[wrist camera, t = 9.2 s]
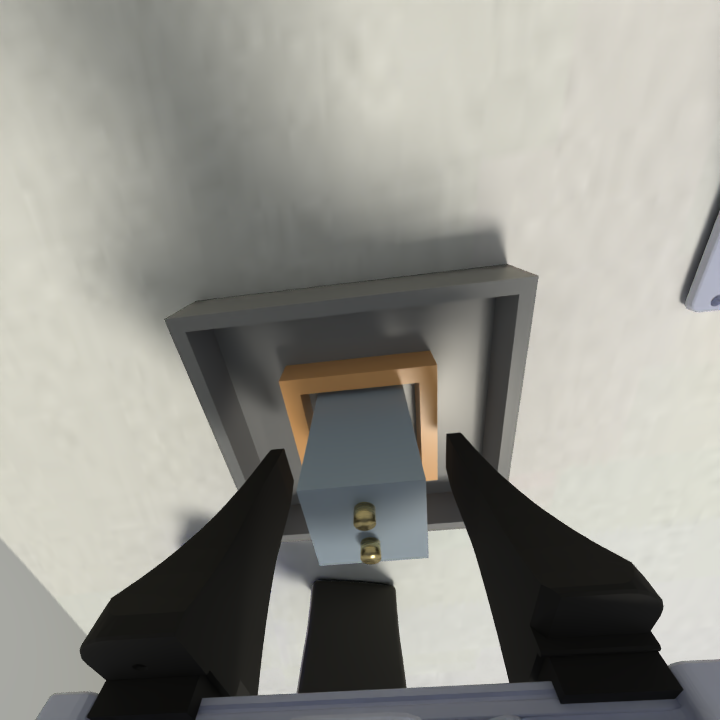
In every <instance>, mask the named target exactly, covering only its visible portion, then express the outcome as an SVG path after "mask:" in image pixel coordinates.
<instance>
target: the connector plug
mask: <svg viewBox="0 0 720 720" xmlns="http://www.w3.org/2000/svg"><path fill="white" fill-rule="evenodd" d="M296 492H297V495H298V498H299V501H300V504H301V508H302V511H303V514H304V517H305V520H306V524H307V527H308V530H309V533H310V536H311V540H312V543H313V546H314V549H315V552H316V556H317V559H318V562H319V565H320V566H325V565H338V564H352V563H365V564H376V563H378V562H380V561H392V560H405V559H419V558H428V528H427V498H426V478H425V474H424V470H423V466H422V462H421V458H420V454H419V449H418V445H417V441H416V437H415V433H414V429H413V425H412V421H411V417H410V413H409V409H408V405H407V401H406V396H405V392H404V388H403V384H402V385H392V386H383V387H373V388H363V389H353V390H343V391H333V392H323V393H318V396H317V400H316V405H315V409H314V414H313V418H312V423H311V427H310V432H309V436H308V441H307V445H306V450H305V454H304V459H303V463H302V468H301V472H300V477H299V481H298V486H297V490H296Z"/></svg>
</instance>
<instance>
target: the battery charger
mask: <svg viewBox="0 0 720 720" xmlns="http://www.w3.org/2000/svg"><path fill="white" fill-rule="evenodd" d="M400 688H407V687H406V680H405V672H404V665H403V657H402V650H401V643H400V636H399V626H398V615H397V602H396V590H395V588H394V587H393V586H389V585H383V584H375V583H365V582H353V581H315V582H314V584H313V585H312V588H311V599H310V609H309V617H308V626H307V633H306V639H305V645H304V651H303V656H302V662H301V668H300V675H299V681H298V687H297V693H317V692H338V691H358V690H379V689H400Z"/></svg>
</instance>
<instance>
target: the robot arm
mask: <svg viewBox="0 0 720 720" xmlns="http://www.w3.org/2000/svg"><path fill="white" fill-rule="evenodd" d="M712 299H713V300H712ZM711 300H712V301H711ZM685 306H686V308H687V309H688V310H691V311H694V312H708V311H717V310H720V211H719V214H718V216H717V219H716V222H715V224H714V227H713V230H712V232H711V235H710V238H709V240H708V243H707V246H706V248H705V251H704V254H703V256H702V259H701V261H700V264H699V267H698V269H697V272H696V275H695V277H694V280H693V283H692V285H691V288H690V291H689V293H688V296H687V299H686V302H685ZM446 471H447V475H448V479H449V483H450V487H451V490H452V493H453V496H454V498H455V501H456V504H457V506H458V509H459V511H460V514H461V517H462V519H463V522H464V524H465V527H466V530H467V532H468V535H469V537H470V540H471V543H472V546H473V548H474V551H475V554H476V558H477V561H478V565H479V568H480V572H481V575H482V579H483V582H484V586H485V590H486V593H487V597H488V601H489V604H490V608H491V612H492V616H493V619H494V623H495V627H496V631H497V635H498V639H499V642H500V646H501V651H502V655H503V659H504V663H505V667H506V671H507V675H508V679H509V683H503V684H482V685H461V686H441V687H420V688H400V689H379V690H358V691H338V692H317V693H297V694H276V695H258V687H259V677H260V668H261V659H262V650H263V643H264V635H265V627H266V620H267V613H268V606H269V600H270V593H271V587H272V581H273V575H274V569H275V564H276V560H277V555H278V552H279V548H280V544H281V540H282V536H283V533H284V529H285V525H286V521H287V517H288V513H289V510H290V506H291V500H292V493H293V485H294V479H293V476H292V472H291V469H290V466H289V463H288V459H287V456H286V453H285V449H284V448H283V449H272V450H270V451H269V453H268V454H267V455H266V456H265V458H264V459H263V460H262V461H261V463H260V464H259V465H258V467H257V468H256V469H255V470H254V472H253V473H252V474H251V476H250V477H249V478H248V479H247V480H246V482H245V483H244V484H243V485H242V487H241V488H240V489H239V490H238V491H237V492H236V494H235V495H234V496H233V497H232V498H231V499H230V500H229V501H228V503H227V504H226V505H225V506H224V507H223V508H222V509H221V510H220V511H219V512H218V513H217V514H216V515H215V516H214V517H213V518H212V519H211V520H210V521H209V522H208V523H207V524H206V525H205V526H204V527H203V528H202V529H201V530H200V531H199V532H198V533H196V534H195V535H194V536H193V537H192V538H191V539H190V540H188V541H187V542H186V543H185V544H184V545H183V546H182V547H180V548H179V549H178V550H177V551H176V552H174V553H173V554H172V555H171V556H169V557H168V558H167V559H166V560H164V561H163V562H162V563H160V564H159V565H158V566H156V567H155V568H154V569H153V570H151V571H150V572H148V573H147V574H146V575H144V576H143V577H142V578H140V579H139V580H137V581H136V582H134V583H133V584H131V585H130V586H128V587H127V588H126V589H124V590H123V591H121V592H120V593H118V594H117V595H115V596H114V597H112V598H111V600H110V601H109V603H108V604H107V606H106V607H105V609H104V610H103V612H102V614H101V615H100V617H99V618H98V620H97V621H96V623H95V625H94V626H93V628H92V629H91V631H90V632H89V634H88V636H87V637H86V639H85V640H84V642H83V643H82V645H81V648H80V654H81V658H82V659H83V660H84V662H85V663H86V664H87V665H89V666H90V667H91V668H92V669H93V670H95V671H96V672H97V673H98V674H99V675H101V676H102V677H103V678H104V679H106V682H105V684H104V686H103V688H102V689H101V691H100V693H99V694H97V693H93V692H66V693H54V694H53V695H51V696H50V697H49V699H48V701H47V702H46V704H45V705H44V707H43V708H42V710H41V712H40V713H39V715H38V716H37V718H36V719H35V720H720V659H716V660H696V661H681V662H676V663H673V664H670V665H669V666H667V664H666V663H665V661H664V660H663V658H662V657H661V655H660V654H659V652H658V651H660V650H661V646H660V644H659V643H658V641H657V640H656V638H655V637H654V635H653V634H652V632H651V630H652V628H653V626H654V625H655V623H656V622H657V620H658V619H659V617H660V616H661V613H662V611H663V601H662V599H661V598H660V597H659V595H658V594H657V593H656V591H655V590H654V589H653V587H652V586H651V585H650V583H649V582H648V581H647V580H646V578H645V577H644V576H643V575H642V574H641V573H640V572H639V570H638V569H637V568H636V567H635V566H634V565H633V564H632V562H630V561H628V560H626V559H624V558H622V557H620V556H619V555H617V554H615V553H613V552H611V551H609V550H607V549H606V548H604V547H602V546H600V545H598V544H596V543H595V542H593V541H591V540H590V539H588V538H586V537H585V536H583V535H581V534H580V533H578V532H576V531H575V530H573V529H571V528H570V527H568V526H567V525H565V524H564V523H562V522H561V521H559V520H558V519H556V518H555V517H553V516H552V515H550V514H549V513H548V512H546V511H545V510H543V509H542V508H541V507H539V506H538V505H537V504H535V503H534V502H533V501H531V500H530V499H529V498H528V497H526V496H525V495H524V494H523V493H521V492H520V491H519V490H518V489H517V488H515V487H514V486H513V485H512V484H511V483H510V482H509V481H507V480H506V479H505V478H504V477H503V476H502V475H501V474H500V473H499V472H498V471H497V470H496V469H495V468H494V467H493V466H492V465H491V464H490V463H489V462H488V461H487V460H486V459H485V458H484V457H483V456H482V455H481V454H480V453H479V452H478V451H477V450H476V449H475V448H474V447H473V445H472V444H471V443H470V442H469V441H468V440H467V439H466V437H465V436H464V435H463V434H462V433H461V432H459V433H448V434H446Z"/></svg>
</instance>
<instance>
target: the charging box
mask: <svg viewBox="0 0 720 720" xmlns="http://www.w3.org/2000/svg"><path fill="white" fill-rule="evenodd" d="M537 283H538V276H537V275H535V274H532V273H530V272H527V271H524V270H522V269H519V268H516V267H514V266H511V265H509V264H506V265H497V266H489V267H480V268H472V269H464V270H455V271H447V272H438V273H430V274H421V275H413V276H404V277H396V278H388V279H379V280H371V281H362V282H354V283H345V284H337V285H328V286H320V287H312V288H303V289H295V290H286V291H278V292H269V293H261V294H253V295H244V296H236V297H227V298H219V299H210V300H202V301H195V302H194V303H192V304H190V305H188V306H187V307H185V308H183V309H181V310H180V311H178V312H176V313H174V314H173V315H171V316H169V317H167V318H166V319H164V320H165V322H166V325H167V327H168V329H169V332H170V334H171V336H172V339H173V341H174V343H175V346H176V348H177V350H178V353H179V355H180V357H181V360H182V362H183V364H184V367H185V369H186V371H187V374H188V376H189V378H190V381H191V383H192V385H193V388H194V390H195V392H196V394H197V397H198V399H199V401H200V404H201V406H202V408H203V411H204V413H205V415H206V418H207V420H208V422H209V425H210V427H211V429H212V432H213V434H214V436H215V439H216V441H217V443H218V446H219V448H220V450H221V453H222V455H223V457H224V460H225V462H226V464H227V467H228V469H229V471H230V474H231V476H232V478H233V481H234V483H235V485H236V488H237V490H239V489H240V488H241V487H242V485H243V484H244V483H245V482H246V480H247V479H248V478H249V477H250V476H251V474H252V473H253V472H254V470H255V469H256V468H257V467H258V465H259V464H260V463H261V461H262V460H263V459H264V458H265V456H266V455H267V454H268V453H269V451H270V450H272V449H283V448H284V449H285V453H286V456H287V459H288V463H289V466H290V469H291V472H292V476H293V479H294V485H293V493H292V500H291V506H290V510H289V513H288V517H287V521H286V525H285V529H284V533H283V536H282V540H281V542H291V541H304V540H311V536H310V533H309V530H308V527H307V524H306V520H305V517H304V514H303V511H302V508H301V504H300V501H299V498H298V495H297V492H296V490H297V486H298V481H299V477H300V472H301V468H302V463H303V459H304V454H305V450H306V445H307V441H308V436H309V432H310V427H311V423H312V418H313V414H314V409H315V405H316V400H317V396H318V393H323V392H333V391H343V390H353V389H363V388H373V387H383V386H392V385H402V384H403V388H404V392H405V396H406V401H407V405H408V409H409V413H410V417H411V421H412V425H413V429H414V433H415V437H416V441H417V445H418V449H419V454H420V458H421V462H422V466H423V470H424V474H425V478H426V498H427V528H428V531H436V530H449V529H463V528H466V527H465V524H464V522H463V519H462V517H461V514H460V511H459V509H458V506H457V504H456V501H455V498H454V496H453V493H452V490H451V487H450V483H449V479H448V475H447V471H446V434H448V433H459V432H461V433H462V434H463V435H464V436H465V437H466V439H467V440H468V441H469V442H470V443H471V444H472V445H473V447H474V448H475V449H476V450H477V451H478V452H479V453H480V454H481V455H482V456H483V457H484V458H485V459H486V460H487V461H488V462H489V463H490V464H491V465H492V466H493V467H494V468H495V469H496V470H497V471H498V472H499V473H500V474H501V475H502V476H503V477H504V478H505V479H506V480H507V481H508V480H509V473H510V466H511V459H512V453H513V446H514V439H515V432H516V425H517V419H518V412H519V405H520V398H521V392H522V385H523V378H524V371H525V364H526V358H527V351H528V344H529V337H530V330H531V324H532V317H533V310H534V303H535V297H536V290H537Z"/></svg>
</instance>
